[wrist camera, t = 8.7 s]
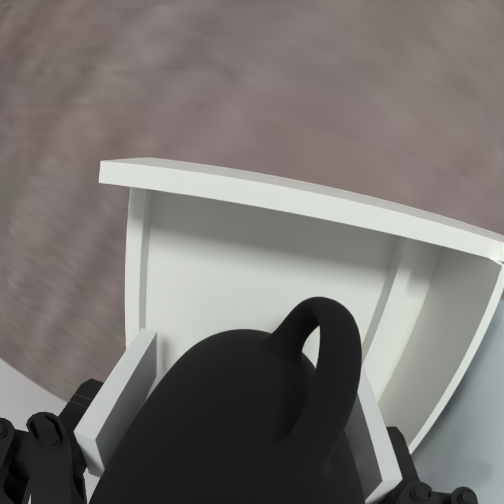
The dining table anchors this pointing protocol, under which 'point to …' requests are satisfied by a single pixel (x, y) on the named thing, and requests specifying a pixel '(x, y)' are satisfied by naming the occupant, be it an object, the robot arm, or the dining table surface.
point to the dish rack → (308, 274)
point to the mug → (248, 420)
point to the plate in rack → (471, 427)
